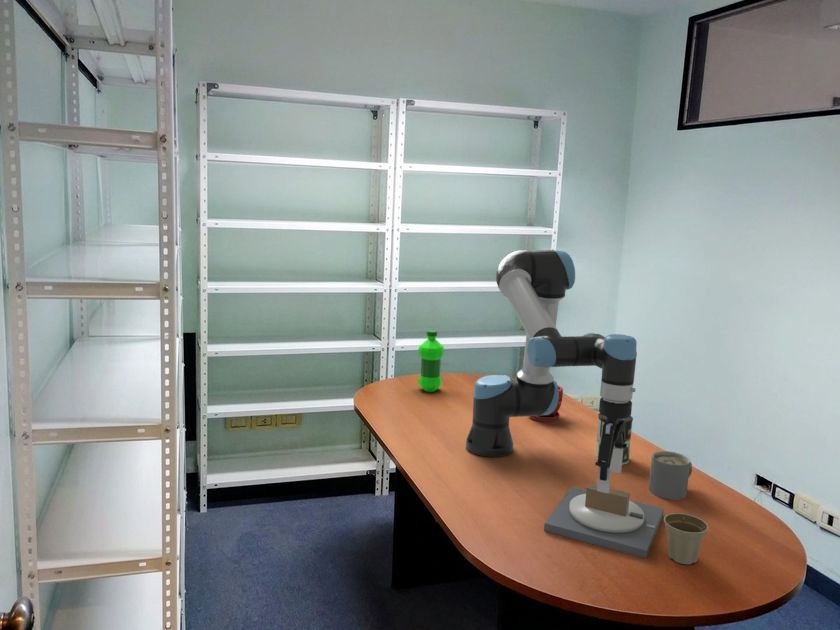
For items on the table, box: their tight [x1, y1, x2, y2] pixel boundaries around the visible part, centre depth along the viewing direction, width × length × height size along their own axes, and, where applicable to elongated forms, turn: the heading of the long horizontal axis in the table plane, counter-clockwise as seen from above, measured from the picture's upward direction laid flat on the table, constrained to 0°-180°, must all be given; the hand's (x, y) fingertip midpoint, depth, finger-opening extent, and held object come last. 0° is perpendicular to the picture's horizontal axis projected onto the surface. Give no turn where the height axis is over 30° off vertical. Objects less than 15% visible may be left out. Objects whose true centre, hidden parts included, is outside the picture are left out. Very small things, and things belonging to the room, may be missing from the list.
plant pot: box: [529, 385, 564, 423], centre depth 241 cm, size 13×13×12 cm
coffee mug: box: [648, 450, 693, 500], centre depth 183 cm, size 13×10×10 cm
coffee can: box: [594, 412, 634, 466], centre depth 204 cm, size 10×10×14 cm
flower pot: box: [663, 512, 709, 566], centre depth 149 cm, size 9×9×9 cm
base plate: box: [543, 486, 665, 560], centre depth 164 cm, size 24×24×2 cm
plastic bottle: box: [417, 329, 445, 393], centre depth 270 cm, size 10×10×25 cm
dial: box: [569, 483, 644, 533], centre depth 163 cm, size 18×18×6 cm
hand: (609, 481), depth 162 cm, fingers open, 13 cm apart
